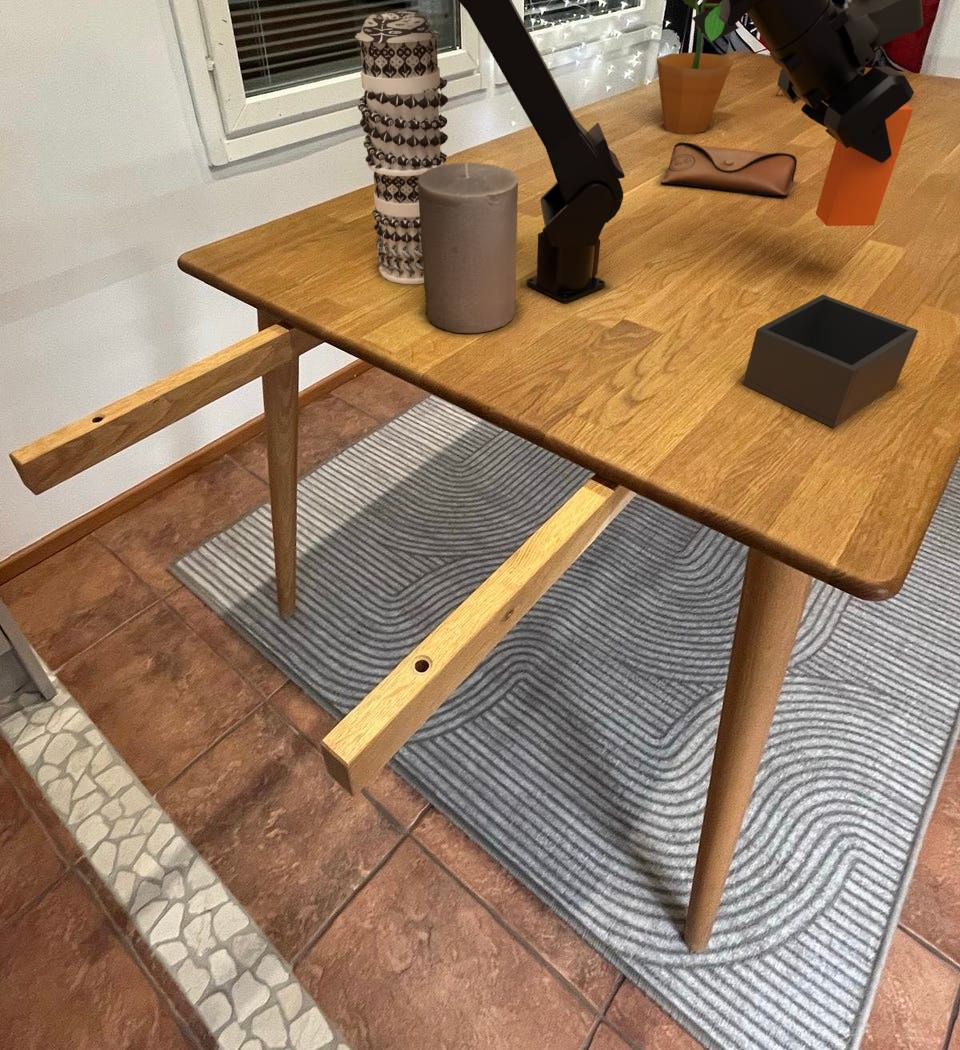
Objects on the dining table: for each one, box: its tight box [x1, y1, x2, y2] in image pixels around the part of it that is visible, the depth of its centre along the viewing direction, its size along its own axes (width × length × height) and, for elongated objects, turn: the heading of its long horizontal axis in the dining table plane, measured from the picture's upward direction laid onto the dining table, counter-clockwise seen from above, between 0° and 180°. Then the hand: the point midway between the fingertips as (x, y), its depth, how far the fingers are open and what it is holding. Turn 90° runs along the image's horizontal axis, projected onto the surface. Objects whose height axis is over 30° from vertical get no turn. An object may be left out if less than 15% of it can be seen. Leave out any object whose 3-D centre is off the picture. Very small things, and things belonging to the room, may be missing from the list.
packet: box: [815, 103, 914, 227], centre depth 76 cm, size 4×5×11 cm
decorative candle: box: [354, 11, 449, 285], centre depth 80 cm, size 9×9×25 cm
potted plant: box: [656, 0, 740, 135], centre depth 119 cm, size 18×19×30 cm
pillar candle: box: [418, 162, 519, 334], centre depth 75 cm, size 10×10×15 cm
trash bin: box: [742, 294, 919, 429], centre depth 67 cm, size 10×9×6 cm
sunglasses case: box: [660, 141, 798, 196], centre depth 108 cm, size 18×7×7 cm
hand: (878, 153), depth 75 cm, fingers closed on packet, 3 cm apart
